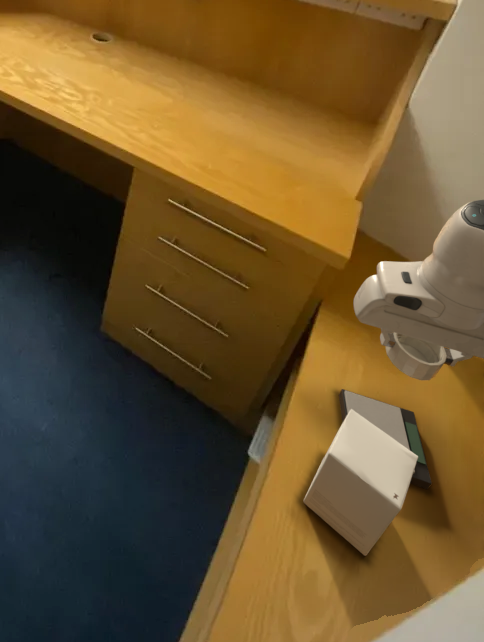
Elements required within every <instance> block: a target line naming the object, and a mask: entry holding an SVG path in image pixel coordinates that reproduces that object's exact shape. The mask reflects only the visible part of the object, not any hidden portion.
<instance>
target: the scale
mask: <svg viewBox="0 0 484 642" xmlns="http://www.w3.org/2000/svg"><path fill="white" fill-rule="evenodd" d="M338 401H339V406H340V407H339V408H340V413H341V421H342V423H343V421H344V420H345V418H346V416H347V414H348V413H349V411H350V410H351V409H352V410H354V411H355V412H357V413H358V414H359V415H361V416H362V417H364V418H365V419H366V420H368V421H369V422H371V423H372V424H373V425H375V426H376V427H378V428H379V429H380V430H382V431H383V432H385V433H386V434H387V435H389V436H390V437H392V438H393V439H394V440H396V441H397V442H399V443H400V444H401V445H403V446H404V447H406V448H407V449H408V450H410V451H411V452H413V453H414V454H416V455H417V456H418V459H417V462H416V465H415V469H414V472H413V475H412V478H411V481H410V485H414V486H415V487H418V488H421V489H424V490H429V488H430V487H431V486H432V484H433V483H432V479H431V474H430V471H429V466H428V463H427V459H426V455H425V450H424V446H423V444H422V439H421V434H420V431H419V427H418V424H417V419H416V416H415V412H414V411H412V410H409V409H405V408H403V407H401V406H400V407H399V406H397V405H393V404H390V403H388V402H385V401H381V400H378V399H375V398H372V397H369V396H366V395H362V394H359V393H356V392H353V391H350V390H347V389H344V388H341V390H340V391H339V393H338Z"/></svg>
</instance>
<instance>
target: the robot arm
mask: <svg viewBox="0 0 484 642" xmlns="http://www.w3.org/2000/svg"><path fill="white" fill-rule="evenodd" d="M352 305H353V310H354V313H355V314H354V315H355V317H356V319H357V320H358V321H359V322H360V324H361V323H362V324H364V325H368V326H370V327H371V326H372V327H375V328H378V329H380V331H381V333H380V335H379V340H380V345H381V346H383V347H386V346H387V347H391V348H393V345H395V343H396V341H395V338H394V333H393V332H395V333H398V334H402V335H405V336H409V337H412V338H415V339H419V340H422V341H425V342H429V343H432V344H436V345H439V346H442V347H444V349H445V352H446V355H447V356H446V360H445V363H444V364H443V365H446V366H451V367H455V366H456V364H457V363H458V362H462V361H465V360H469V359H472V358H473V357H477V358H480V359H482V360H483V359H484V199H475V200H472V201H469V202H467V203H465V204H463V205H462V206H461V207H459V208H458V209H456V210H455V211H454V212H453V213H452V214H451V215H450V217H449V218H448V220H447V221H445V223H444V225H443V226H442V228H441V229H440V231H439V233H438V234H437V236H436V238H435V240H434V242H433V245H432V252H431V254H430V255H428V256H427V257H425V259H424V260H422V261H421V260H420V261H419V260H418V261H391V260H389V261H387V260H384V261H380V262H378V263H377V265H376V274H373V275H369V277H367V278H366V279H365V280H364V281H363V282H362V284H361V285H360V287H359V288H358V290H357V291H356V294H355V295H354V297H353V304H352Z"/></svg>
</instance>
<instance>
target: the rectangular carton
mask: <svg viewBox="0 0 484 642" xmlns="http://www.w3.org/2000/svg"><path fill="white" fill-rule="evenodd" d="M417 459H418V456H417V455H416V454H414V453H413V452H411V451H410V450H408V449H407V448H406V447H404V446H403V445H401V444H400V443H399V442H397V441H396V440H394V439H393V438H392V437H390V436H389V435H387V434H386V433H385V432H383V431H382V430H380V429H379V428H378V427H376V426H375V425H373V424H372V423H371V422H369V421H368V420H366V419H365V418H364V417H362V416H361V415H359V414H358V413H357V412H355V411H354V410H352V409H351V410H350V411H349V413H348V414H347V416H346V418H345V420H344V421H343V422H342V423H341V425H340V427H339V428H338V430H337V432H336V434H335V436H334V438H333V439H332V441H331V443H330V446H329V447H328V449H327V451H326V453H325V455H324V456H323V458H322V460H321V461H320V462H321V463H320V465H319V467H318V469H317V470H316V473H315V474H314V477H313V479H312V481H311V483H310V485H309V488H308V490H307V492H306V494H305V496H304V498H303V504H304V505H306V506H307V507H308V508H309V509H310V510H311V511H312V512H313V513H314V514H316V515H317V516H318V517H320V519H321V520H323V521H324V522H325V523H326V524H327V525H328V526H330V527H331V528H332V529H333V530H334V531H335V532H336V533H338V534H339V535H340V536H341V537H342V538H344V539H345V540H346V541H347V543H349V544H350V545H352V546H353V547H354V548H355V549H356V550H357V551H358V552H359V553H361V554H362V555H363V556H365V557H366V556H367V555H368V554H369V553H370V551H371V550H372V549H373V548H374V546H375V545H376V543H377V542H378V541H379V539H381V537H382V535H383V533H385V531H386V530H387V529H388V527H389V526H390V525H391V523H392V522H393V521H394V519H395V518H396V517H397V515H398V514H399V513H400V512H401V511H402V508H403V506H404V503H405V500H406V497H407V494H408V492H409V487H410V485H411V484H410V481H411V478H412V475H413V472H414V469H415V465H416V462H417Z"/></svg>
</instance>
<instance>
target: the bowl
mask: <svg viewBox="0 0 484 642" xmlns="http://www.w3.org/2000/svg"><path fill="white" fill-rule="evenodd" d="M393 333H394V338H395V341H396V343H395V345H393V348H391V347H387V346H385V351H386V356H387V357H388V359H389V360H390V362H391V363H392V365H393V366H395V367H396V369H398V370H399V371H400V372H401V373H403V374H405V375H406V376H408V377H409V378H412V379H416V380H418V381H430V380H432V379H434V378H436V376H437V374H438V373H439V371H440V370H441V369H442V367H443V366H444V365H445V364H444V363H445V360H446V356H447V355H446V352H445V349H444V348H445V347H442V346H439V345H436V344H432V343H429V342H425V341H422V340H419V339H415V338H412V337H409V336H405V335H402V334H398V333H395V332H393Z"/></svg>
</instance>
